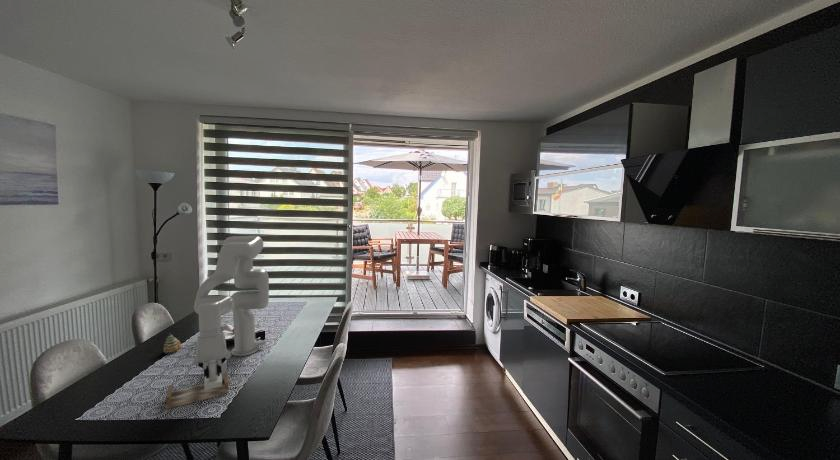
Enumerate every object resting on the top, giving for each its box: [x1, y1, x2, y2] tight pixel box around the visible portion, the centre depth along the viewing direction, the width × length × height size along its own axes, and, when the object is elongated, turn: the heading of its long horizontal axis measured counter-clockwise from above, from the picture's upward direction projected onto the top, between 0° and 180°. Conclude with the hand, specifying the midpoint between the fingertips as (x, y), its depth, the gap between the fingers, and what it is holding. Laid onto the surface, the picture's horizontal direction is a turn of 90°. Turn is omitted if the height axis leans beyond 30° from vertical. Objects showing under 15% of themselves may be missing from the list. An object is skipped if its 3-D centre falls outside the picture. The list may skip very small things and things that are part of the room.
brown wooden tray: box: [165, 372, 229, 410], centre depth 131 cm, size 20×9×4 cm, turn 122°
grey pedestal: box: [203, 360, 222, 390], centre depth 133 cm, size 6×7×11 cm
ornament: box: [163, 332, 182, 355], centre depth 169 cm, size 8×6×10 cm
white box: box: [204, 358, 228, 379], centre depth 142 cm, size 8×7×8 cm
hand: (213, 375), depth 133 cm, fingers closed on grey pedestal, 3 cm apart
